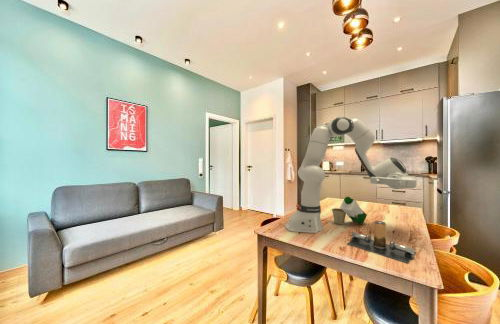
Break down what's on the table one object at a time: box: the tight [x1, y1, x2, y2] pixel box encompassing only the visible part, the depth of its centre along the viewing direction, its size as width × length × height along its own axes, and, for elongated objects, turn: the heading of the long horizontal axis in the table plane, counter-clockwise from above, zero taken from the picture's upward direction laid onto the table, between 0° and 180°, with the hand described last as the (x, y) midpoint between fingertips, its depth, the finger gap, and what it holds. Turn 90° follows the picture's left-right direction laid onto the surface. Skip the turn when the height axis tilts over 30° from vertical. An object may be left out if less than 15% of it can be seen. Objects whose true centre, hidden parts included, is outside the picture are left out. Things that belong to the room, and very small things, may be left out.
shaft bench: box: [346, 231, 417, 264], centre depth 93 cm, size 25×14×5 cm, turn 40°
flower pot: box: [331, 208, 347, 225], centre depth 131 cm, size 9×9×9 cm
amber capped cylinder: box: [373, 220, 387, 250], centre depth 93 cm, size 5×5×12 cm
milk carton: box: [339, 196, 368, 225], centre depth 127 cm, size 9×9×20 cm
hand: (387, 182), depth 100 cm, fingers open, 8 cm apart
